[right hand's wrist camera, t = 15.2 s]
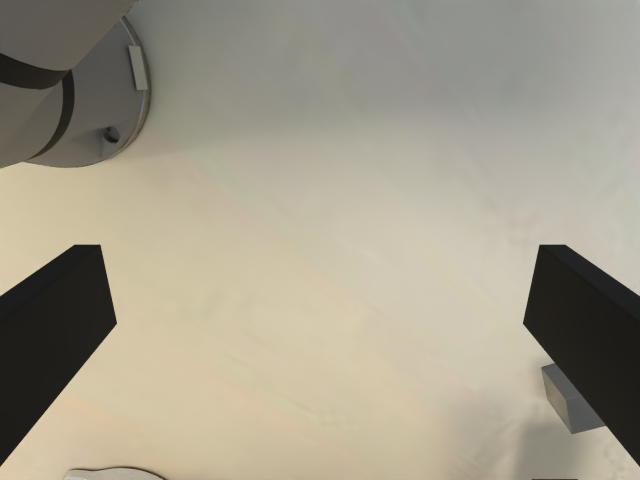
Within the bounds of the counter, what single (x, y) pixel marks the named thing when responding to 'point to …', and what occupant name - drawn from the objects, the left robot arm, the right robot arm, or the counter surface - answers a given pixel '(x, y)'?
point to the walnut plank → (554, 479)
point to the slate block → (569, 401)
